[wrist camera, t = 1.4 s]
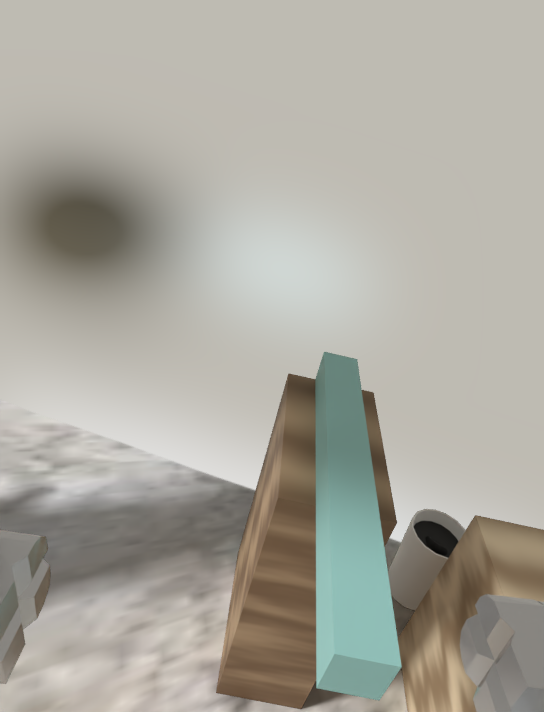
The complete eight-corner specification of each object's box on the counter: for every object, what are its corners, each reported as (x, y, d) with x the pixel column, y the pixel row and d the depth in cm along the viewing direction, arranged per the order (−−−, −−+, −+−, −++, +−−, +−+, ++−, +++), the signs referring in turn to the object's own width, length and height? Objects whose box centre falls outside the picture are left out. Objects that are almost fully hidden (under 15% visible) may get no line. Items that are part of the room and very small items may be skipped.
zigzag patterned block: (493, 790, 44) (624, 675, 33) (417, 776, 43) (525, 656, 33) (459, 651, 54) (551, 531, 44) (397, 639, 54) (475, 515, 43)
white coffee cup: (441, 619, 57) (478, 565, 52) (385, 607, 56) (417, 552, 51) (430, 568, 62) (462, 515, 57) (379, 557, 62) (407, 503, 57)
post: (301, 709, 46) (396, 522, 32) (216, 692, 45) (278, 497, 32) (303, 567, 59) (373, 392, 45) (238, 553, 58) (288, 373, 45)
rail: (379, 700, 23) (401, 667, 21) (316, 688, 23) (334, 653, 21) (347, 386, 45) (357, 359, 44) (315, 379, 45) (324, 351, 44)
